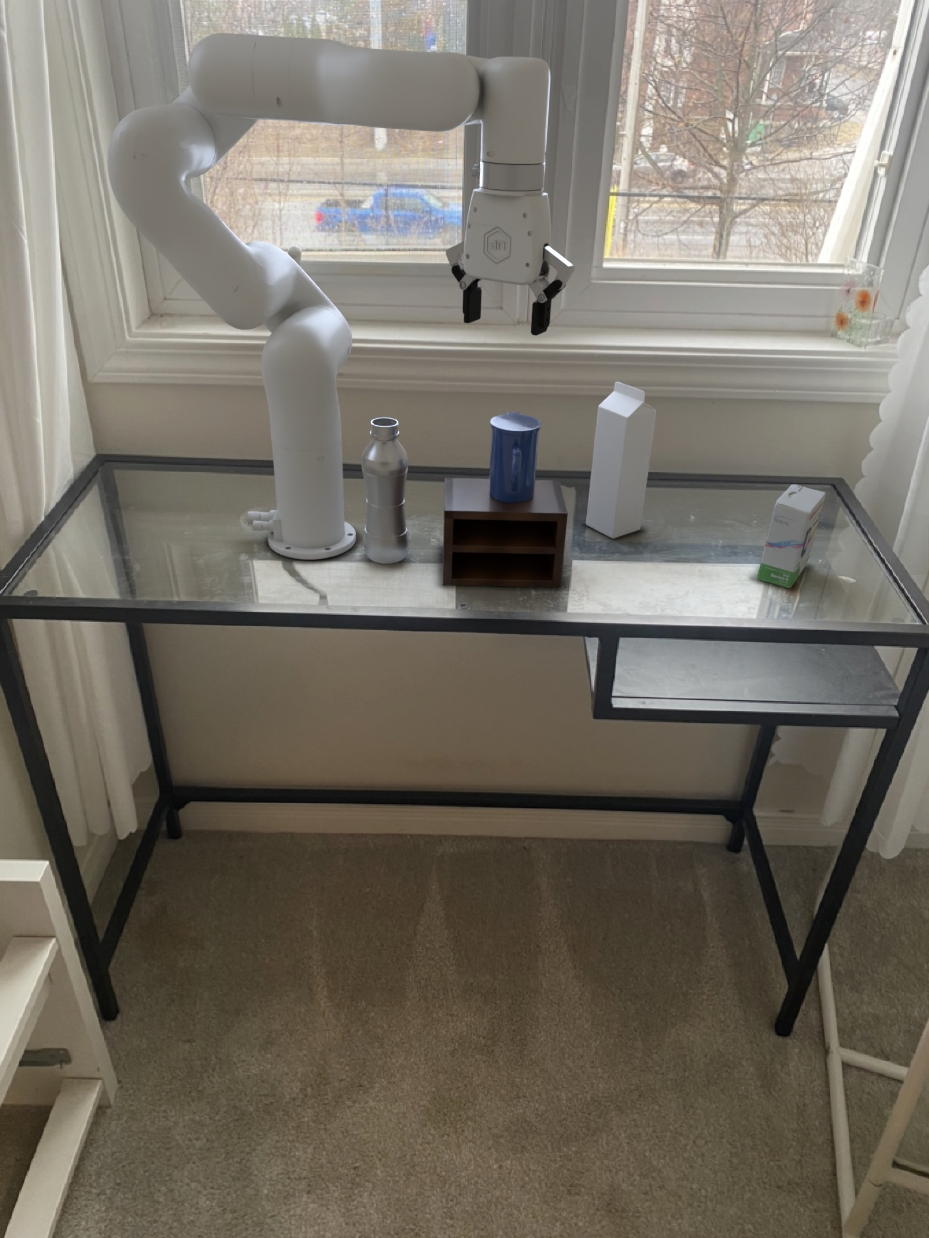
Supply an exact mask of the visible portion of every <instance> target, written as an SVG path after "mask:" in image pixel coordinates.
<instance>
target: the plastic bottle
mask: <svg viewBox="0 0 929 1238" xmlns="http://www.w3.org/2000/svg"><path fill="white" fill-rule="evenodd" d="M369 436H370V437H371V440H370V441H369V443H368V444H367V445H366V446H365V448H364V449H363V451H362V455H361V458H360V463H361V464H360V466H361V471H362V477H363V482H364V491H365V492H364V493H365V498H366V499H365V504H366V510H365V525H364V531H363V536H362V537H363V539H362V544H363V551H364V553H365V555H366V556H367V557H368V559H369V560H371V561H372V562H375V563H378V564H383V565H384V564H386V565H389V564H395V563H399V562H401V561H402V560H404V559H405V557H406V556H407V555H408V553H409V547H410V536H409V531H408V528H407V518H406V517H407V516H406V508H405V507H406V506H405V504H406V485H407V477H408V472H409V462H410V459H409V457H408V453H407V451H406V450H405V448H404V447H403V444H401V443H400V441H399V440H398V438H399V436H400V431H399V421H398V420H397V419H395V418H391V417H376V418H374V419H371V421H370V431H369Z"/></svg>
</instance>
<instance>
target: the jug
mask: <svg viewBox="0 0 929 1238" xmlns="http://www.w3.org/2000/svg"><path fill="white" fill-rule="evenodd" d="M489 421H490V422H489V426H490V448H489V449H490V450H489V469H488V470H489V471H488V474H489V475H488V479H489V489H488V493H489V495H490V496H491V497H492V498H494V499H496V500H498V501H502V502H509V503H519V502H525V501H528V500H530V499H532V498H533V497H534V492H535V480H537V479H536V476H537V464H538V452H539V451H538V449H539V436H540V431H541V429H542V422H541V420H539V419H538V418H536V417H534V416H532V415H527V414H522V413H521V412H519V411H518V412H516V411H514V412H513V411H507V412H506V414H505V413H504V414H499V415H495V416H493V417H491V419H490V420H489Z"/></svg>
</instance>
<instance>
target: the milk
mask: <svg viewBox="0 0 929 1238" xmlns="http://www.w3.org/2000/svg"><path fill="white" fill-rule="evenodd" d="M613 387H614V388H613V391H612V392H611V393H610V394H609V395H608V396H607V397H606V398H605V399H604V400H603V401H601V403H599V404H598V406H597V414H596V422H595V423H596V424H595V433H594V443H593V451H592V452H593V453H592V461H591V462H592V463H591V472H590V479H589V490H588V500H587V510H586V517H585V518H586V520H585V525H586V526H588V527H589V528H592V529H594V530H595V531H597V532H599V533H601V534H603V535H605V536H607V537H608V538H611V539H616V538H619V537H622V536H625V535H628V534H631V533H634V532H637V531H639V530H641V528H642V527H641V526H642V521H643V520H642V519H643V512H644V506H645V499H646V491H647V485H648V484H647V483H648V476H649V468H650V461H651V454H652V447H653V441H654V434H655V426H656V418H657V409H656V408H654V407H653V406H651V405H649V404H648V403H646V402H645V398H646V392H645V390H642V389H641V388H640V389H639V388H636V387H634V386H631V385H629V384H625V383H623V382H620V381H618V380H617V381H615V382H614V386H613Z"/></svg>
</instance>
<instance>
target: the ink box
mask: <svg viewBox="0 0 929 1238" xmlns="http://www.w3.org/2000/svg"><path fill="white" fill-rule="evenodd" d="M826 496H827V492H826V491H825V492H824V491H820V490H817V489H813V488H810V487H805V486H802V485H799V484H794V483H793V484H791V485H790V486H789V487H788V488H787V489H786V490H785V491H784V492H783V493H782V494H781V495H780V496H779V497H778V499H776V502H775V504H774V507H773V511H772V514H771V520H770V524H769V528H768V531H767V536H766V540H765V544H764V547H763V552H762V556H761V560H760V564H759V568H758V571H757V572H758V573H757V576H756V580H758V581H763V582H766V583H769V584H773V585H776V586H779V587H784V588H787V589H791V588H792V587H793V586H794V584H795V583H796V581H797V580H798V578H799V576H800V575H801V573H802V572H803V570H804V569H805V568H806V566H807V565H808V562H809V558H810V555H811V552H812V548H813V544H814V540H815V537H816V533H817V529H818V525H819V522H820V518H821V514H822V512H823V511H822V510H823V507H824V504H825V499H826Z"/></svg>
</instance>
